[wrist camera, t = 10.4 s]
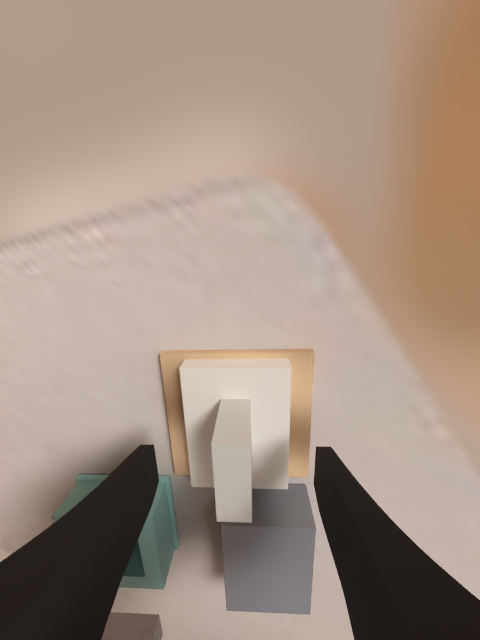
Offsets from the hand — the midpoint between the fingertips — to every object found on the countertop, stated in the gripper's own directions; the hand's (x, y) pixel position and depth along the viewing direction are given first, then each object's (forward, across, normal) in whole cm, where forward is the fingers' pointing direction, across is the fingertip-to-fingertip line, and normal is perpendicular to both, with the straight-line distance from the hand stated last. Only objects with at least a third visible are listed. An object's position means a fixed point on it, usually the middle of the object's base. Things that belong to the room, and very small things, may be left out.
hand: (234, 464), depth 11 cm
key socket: (+3, +8, +8) cm, 11 cm away
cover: (+3, 0, 0) cm, 3 cm away
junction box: (+3, -2, +8) cm, 9 cm away
